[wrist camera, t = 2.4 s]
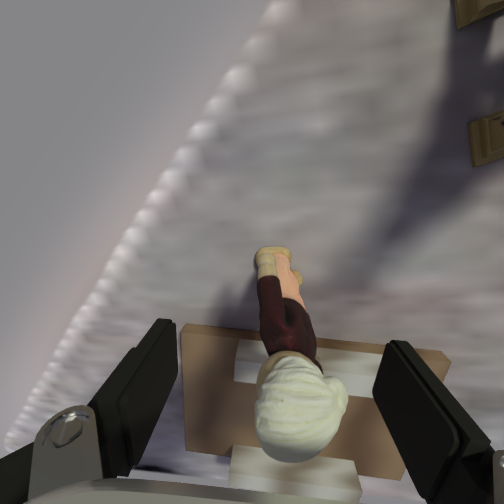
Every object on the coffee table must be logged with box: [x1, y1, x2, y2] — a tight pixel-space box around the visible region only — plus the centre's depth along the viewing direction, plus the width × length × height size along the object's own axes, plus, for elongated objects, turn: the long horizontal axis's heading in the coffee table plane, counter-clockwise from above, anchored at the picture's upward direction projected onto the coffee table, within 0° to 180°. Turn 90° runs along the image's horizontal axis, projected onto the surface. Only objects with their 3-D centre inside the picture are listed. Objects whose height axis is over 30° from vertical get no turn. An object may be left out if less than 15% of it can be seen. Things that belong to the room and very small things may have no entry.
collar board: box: [181, 324, 451, 503], centre depth 21 cm, size 22×15×4 cm
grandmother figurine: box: [254, 247, 348, 463], centre depth 13 cm, size 8×4×13 cm, turn 36°
